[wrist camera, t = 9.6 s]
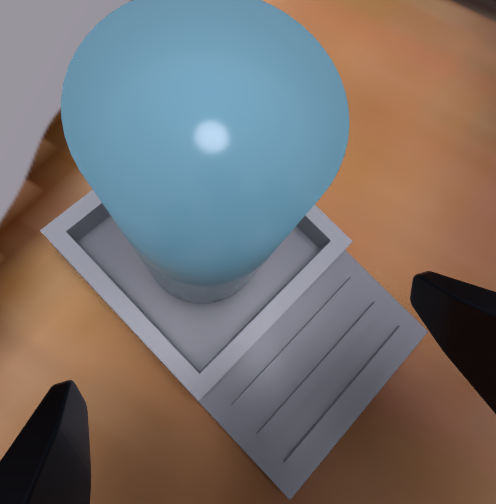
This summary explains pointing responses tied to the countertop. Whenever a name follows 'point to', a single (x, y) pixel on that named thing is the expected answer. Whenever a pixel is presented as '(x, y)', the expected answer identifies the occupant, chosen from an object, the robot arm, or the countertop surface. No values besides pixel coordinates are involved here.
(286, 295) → the kitchen sink with drainboard
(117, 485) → the countertop surface
